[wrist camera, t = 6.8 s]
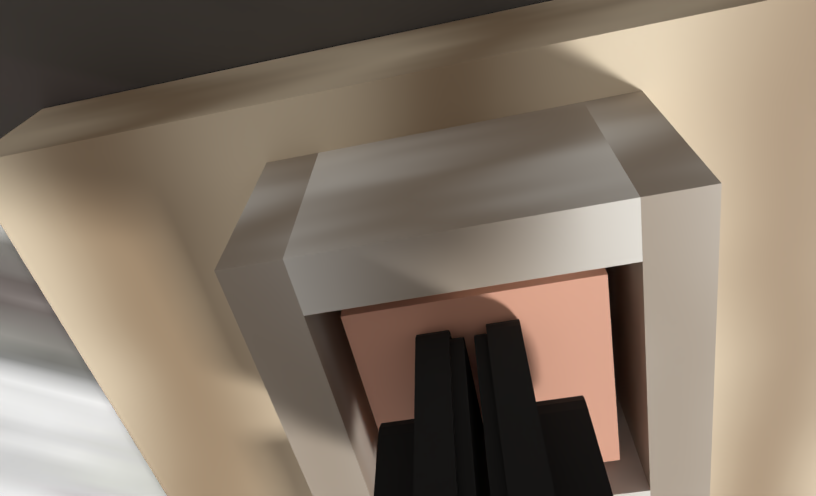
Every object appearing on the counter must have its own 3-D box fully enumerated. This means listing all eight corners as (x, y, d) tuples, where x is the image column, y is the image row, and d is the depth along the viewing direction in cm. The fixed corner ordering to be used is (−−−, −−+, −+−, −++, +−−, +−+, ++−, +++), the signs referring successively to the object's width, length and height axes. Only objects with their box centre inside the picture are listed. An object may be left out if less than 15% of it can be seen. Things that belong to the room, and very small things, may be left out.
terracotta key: (569, 182, 12) (607, 274, 10) (585, 348, 14) (620, 460, 12) (357, 219, 13) (340, 316, 10) (402, 374, 15) (397, 487, 12)
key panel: (896, -74, 13) (1269, -2, 7) (804, 516, 22) (935, 750, 16) (42, 108, 15) (-187, 271, 9) (284, 573, 24) (242, 795, 19)
